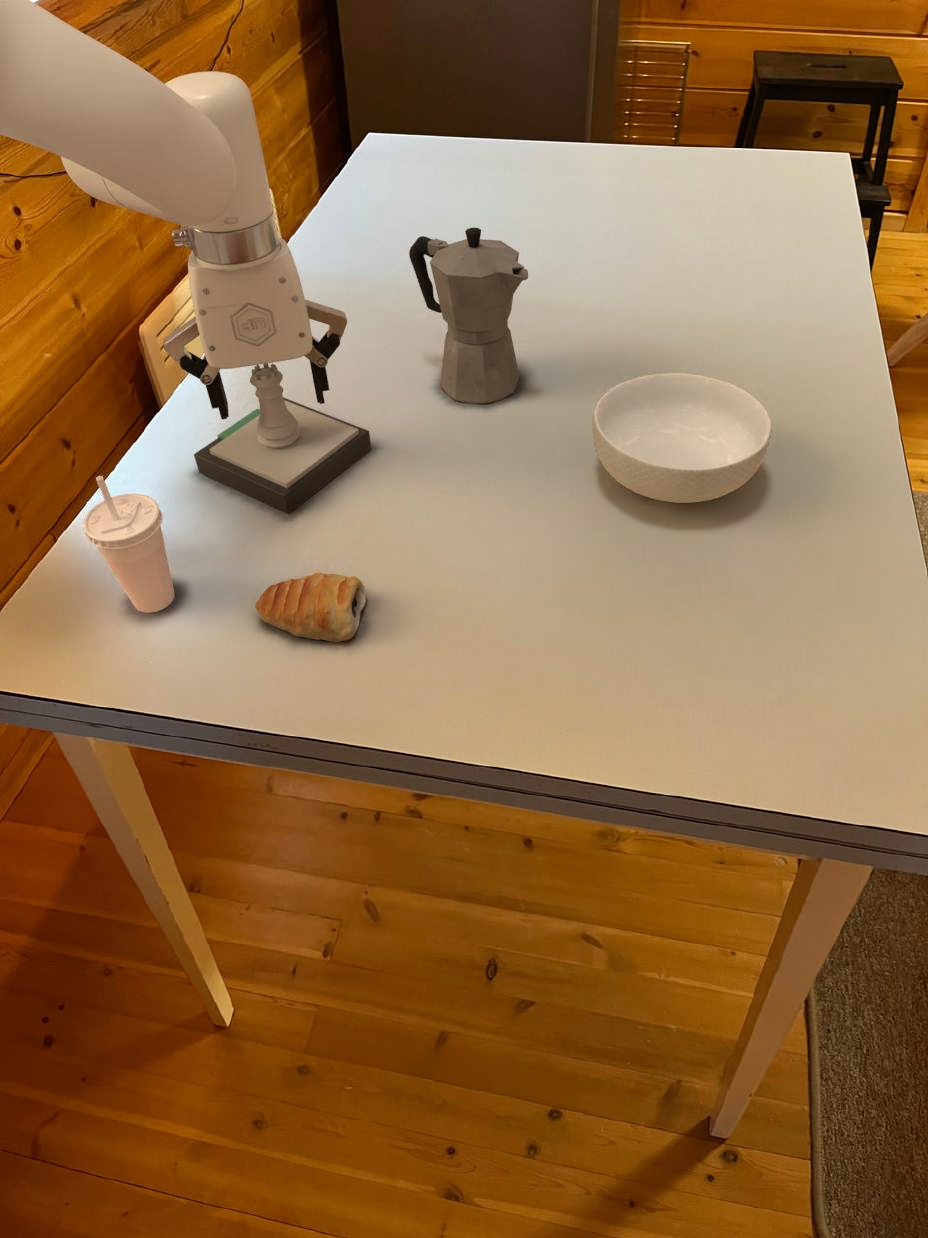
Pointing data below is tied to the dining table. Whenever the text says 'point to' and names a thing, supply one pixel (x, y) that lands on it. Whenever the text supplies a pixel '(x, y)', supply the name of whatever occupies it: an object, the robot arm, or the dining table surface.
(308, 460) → the scale
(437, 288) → the coffeepot
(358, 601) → the pastry
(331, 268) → the dining table surface
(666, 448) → the cereal bowl
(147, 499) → the smoothie
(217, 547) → the dining table surface
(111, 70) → the robot arm
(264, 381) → the rook chess piece
